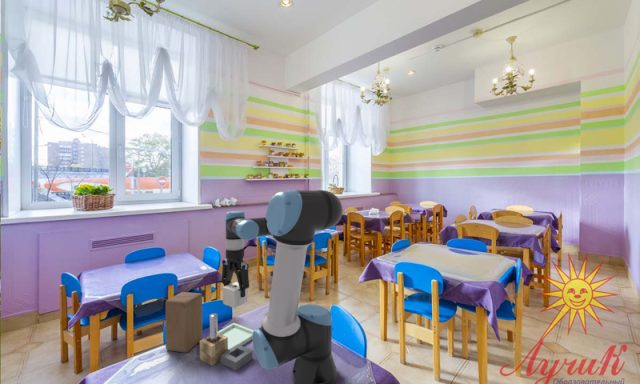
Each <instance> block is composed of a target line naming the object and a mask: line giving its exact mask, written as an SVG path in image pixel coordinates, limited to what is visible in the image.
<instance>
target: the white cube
mask: <svg viewBox="0 0 640 384" xmlns="http://www.w3.org/2000/svg"><path fill="white" fill-rule="evenodd" d="M238 289H240V288H239V284H238V281H235V282H232V283H230V285H227V286H225V285H224V286H223V287H222V304H223V305H225V306H228V307H230V308H233V309H235V308H237V307H239V306H238ZM247 302H248V288H247V289H245V297H244V304H246V303H247Z"/></svg>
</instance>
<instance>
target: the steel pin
mask: <svg viewBox="0 0 640 384" xmlns="http://www.w3.org/2000/svg"><path fill="white" fill-rule="evenodd" d="M218 315H219V314H218V313H211V314H209V336H210V342H211V343H214V342H216V341H218V331H219V329H218V323H219V322H218V321H219V320H218Z"/></svg>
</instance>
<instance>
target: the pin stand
mask: <svg viewBox="0 0 640 384" xmlns="http://www.w3.org/2000/svg"><path fill="white" fill-rule="evenodd" d="M251 360H253V349H250V348H247V347H245V346H244V345H243V346H241V345H239V344H237V345H236V346H234V347H232V348H231V349H229V350H228V351H226V352H225V353H223V354H222V355H221V360H220V364H221V365H223V366H225V367H227V368H229V369H231V370H232V371H235V372H237V371H238V370H239V369H241V368H242V367H243V366H244V365H246V364H247V363H249V362H250V361H251Z"/></svg>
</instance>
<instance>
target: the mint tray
mask: <svg viewBox="0 0 640 384" xmlns="http://www.w3.org/2000/svg"><path fill="white" fill-rule="evenodd" d="M254 330H255V329H251V328H249V327H246V326H244V325H240V324H238V323H236V322H233V323H231V324H229V325H227V326H225V327H224V328H222V329H220V330H218V333H219V334H221V335H224V336H226V337H228V350H229V349H231V348H232V347H234V346H236V345H237V344H239V345H241V346H243V347H244V345H246V344H247V343H249V342H250V341H252V334H253V331H254Z"/></svg>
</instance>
